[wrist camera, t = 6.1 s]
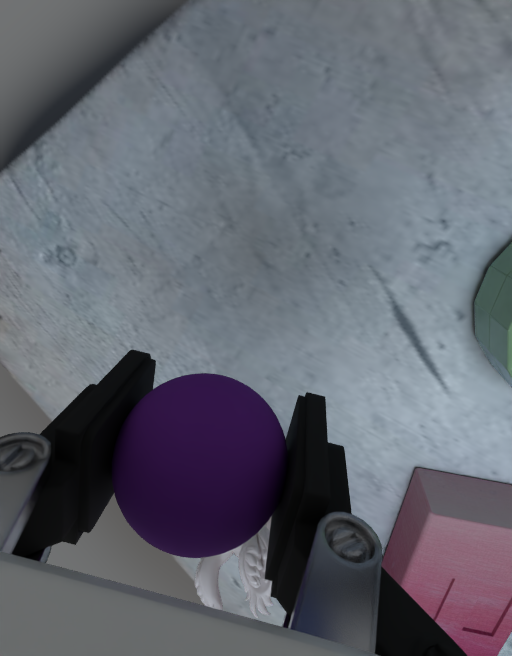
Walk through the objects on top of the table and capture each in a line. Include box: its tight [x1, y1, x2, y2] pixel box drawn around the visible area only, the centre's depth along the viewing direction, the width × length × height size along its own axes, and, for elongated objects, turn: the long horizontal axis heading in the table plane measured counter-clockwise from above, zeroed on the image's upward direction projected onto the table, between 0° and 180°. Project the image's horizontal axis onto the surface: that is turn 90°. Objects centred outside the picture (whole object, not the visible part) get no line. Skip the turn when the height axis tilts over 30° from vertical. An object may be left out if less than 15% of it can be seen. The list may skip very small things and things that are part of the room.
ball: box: [112, 373, 288, 558], centre depth 10 cm, size 4×4×4 cm
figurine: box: [195, 516, 273, 618], centre depth 29 cm, size 8×15×13 cm, turn 38°
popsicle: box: [381, 468, 512, 656], centre depth 34 cm, size 9×5×20 cm
